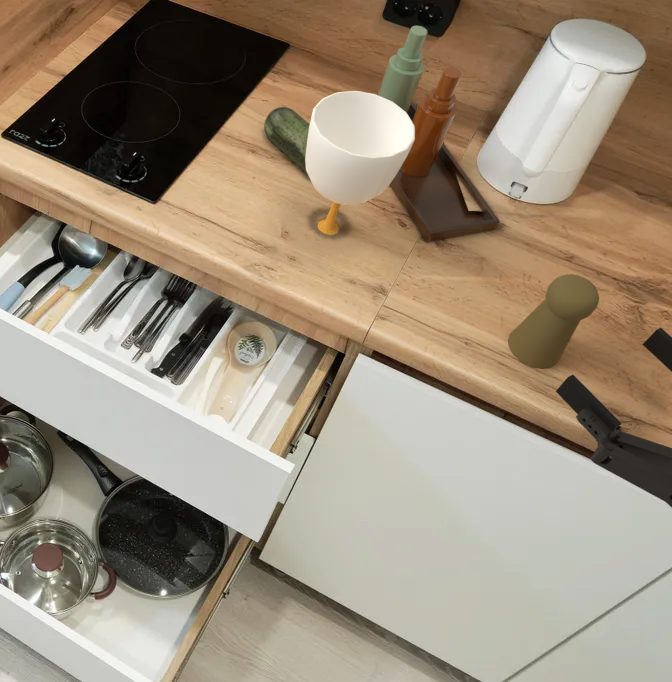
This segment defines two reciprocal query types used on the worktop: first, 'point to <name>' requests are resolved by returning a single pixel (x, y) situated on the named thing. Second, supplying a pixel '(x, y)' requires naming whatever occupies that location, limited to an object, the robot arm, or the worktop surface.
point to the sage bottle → (404, 70)
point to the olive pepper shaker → (554, 321)
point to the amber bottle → (432, 124)
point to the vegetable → (288, 134)
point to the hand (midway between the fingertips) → (608, 358)
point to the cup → (355, 149)
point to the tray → (442, 199)
